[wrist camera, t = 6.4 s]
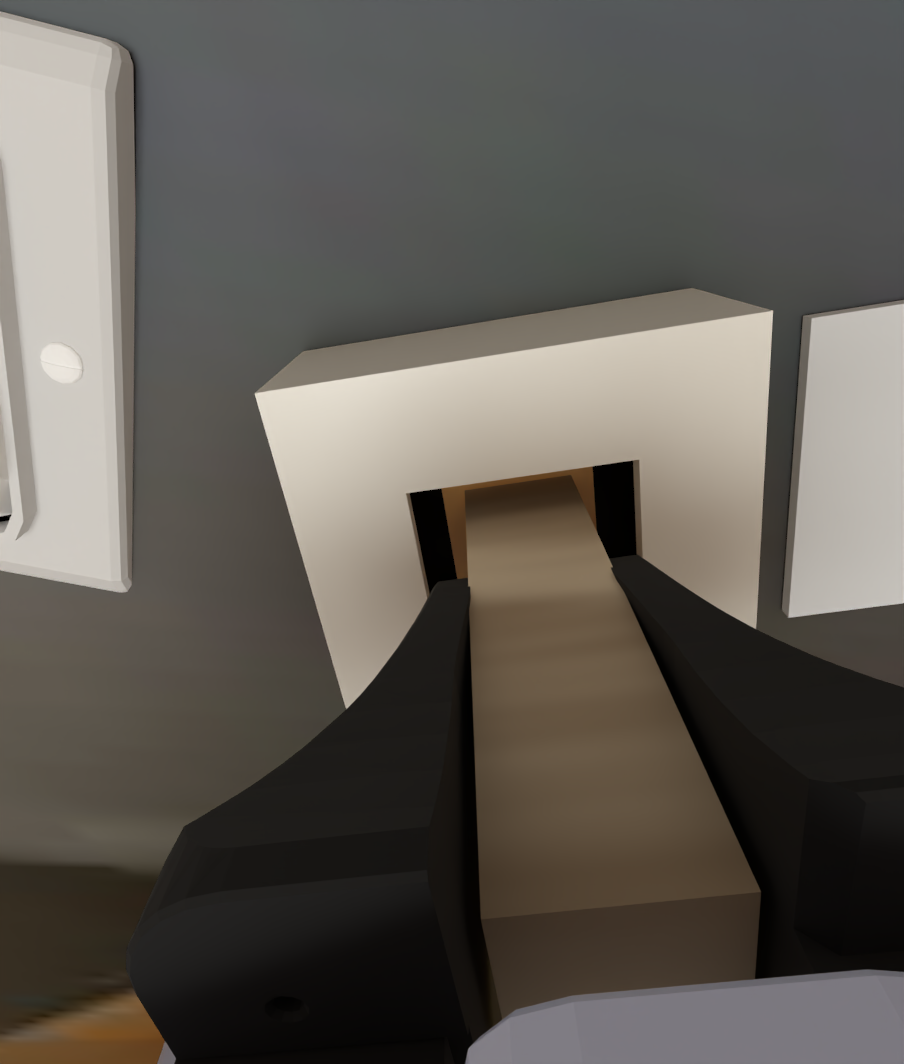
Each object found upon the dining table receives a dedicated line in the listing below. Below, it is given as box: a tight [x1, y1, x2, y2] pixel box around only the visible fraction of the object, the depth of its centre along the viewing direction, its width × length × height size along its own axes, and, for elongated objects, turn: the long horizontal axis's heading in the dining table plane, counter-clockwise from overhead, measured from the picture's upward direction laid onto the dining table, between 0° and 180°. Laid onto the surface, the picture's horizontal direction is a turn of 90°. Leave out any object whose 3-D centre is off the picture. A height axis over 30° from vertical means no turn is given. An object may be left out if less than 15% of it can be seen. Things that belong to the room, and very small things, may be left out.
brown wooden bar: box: [465, 475, 761, 1020], centre depth 11 cm, size 2×2×10 cm
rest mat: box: [782, 300, 904, 618], centre depth 16 cm, size 8×5×1 cm, turn 9°
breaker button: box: [441, 466, 597, 579], centre depth 16 cm, size 3×3×2 cm
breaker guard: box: [255, 288, 773, 709], centre depth 15 cm, size 9×9×4 cm
